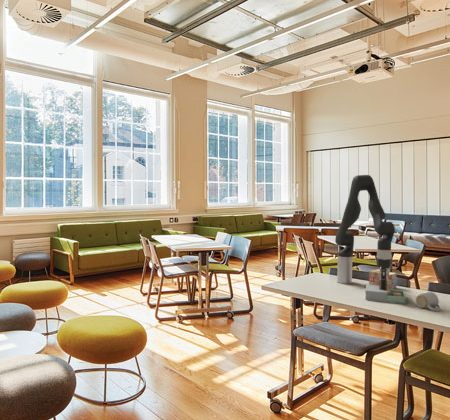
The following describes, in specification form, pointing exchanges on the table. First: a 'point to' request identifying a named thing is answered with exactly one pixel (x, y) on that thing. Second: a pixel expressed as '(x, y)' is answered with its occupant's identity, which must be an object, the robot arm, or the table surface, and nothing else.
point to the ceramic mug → (428, 301)
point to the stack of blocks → (375, 277)
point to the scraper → (387, 285)
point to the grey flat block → (375, 293)
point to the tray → (397, 297)
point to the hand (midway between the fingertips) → (383, 288)
